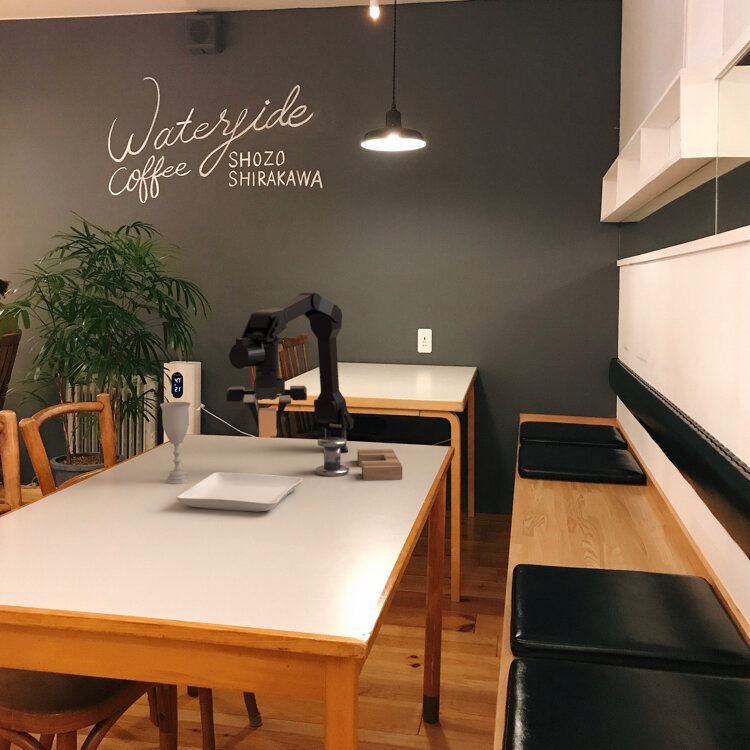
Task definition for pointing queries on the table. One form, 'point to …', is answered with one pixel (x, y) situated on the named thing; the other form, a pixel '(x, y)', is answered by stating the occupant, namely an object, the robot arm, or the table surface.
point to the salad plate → (239, 491)
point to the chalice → (176, 434)
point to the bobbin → (332, 457)
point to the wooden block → (267, 422)
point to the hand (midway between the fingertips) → (267, 429)
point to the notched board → (379, 464)
